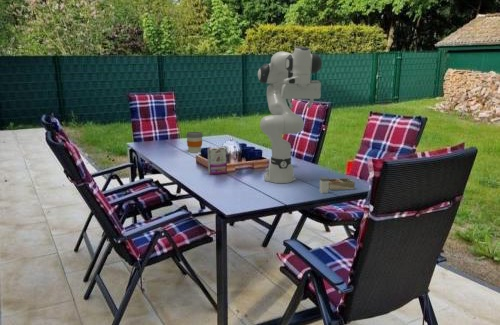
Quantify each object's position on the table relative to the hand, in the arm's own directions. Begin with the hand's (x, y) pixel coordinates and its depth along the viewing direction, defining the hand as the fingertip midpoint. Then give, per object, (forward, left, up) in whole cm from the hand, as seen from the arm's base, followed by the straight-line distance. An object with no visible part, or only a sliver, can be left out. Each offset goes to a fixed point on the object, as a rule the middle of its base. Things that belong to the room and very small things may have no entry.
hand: (300, 107), depth 221 cm
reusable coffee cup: (-123, -45, -46) cm, 139 cm away
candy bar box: (-53, -36, -46) cm, 79 cm away
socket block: (-10, +28, -46) cm, 55 cm away
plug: (-3, +16, -46) cm, 49 cm away
